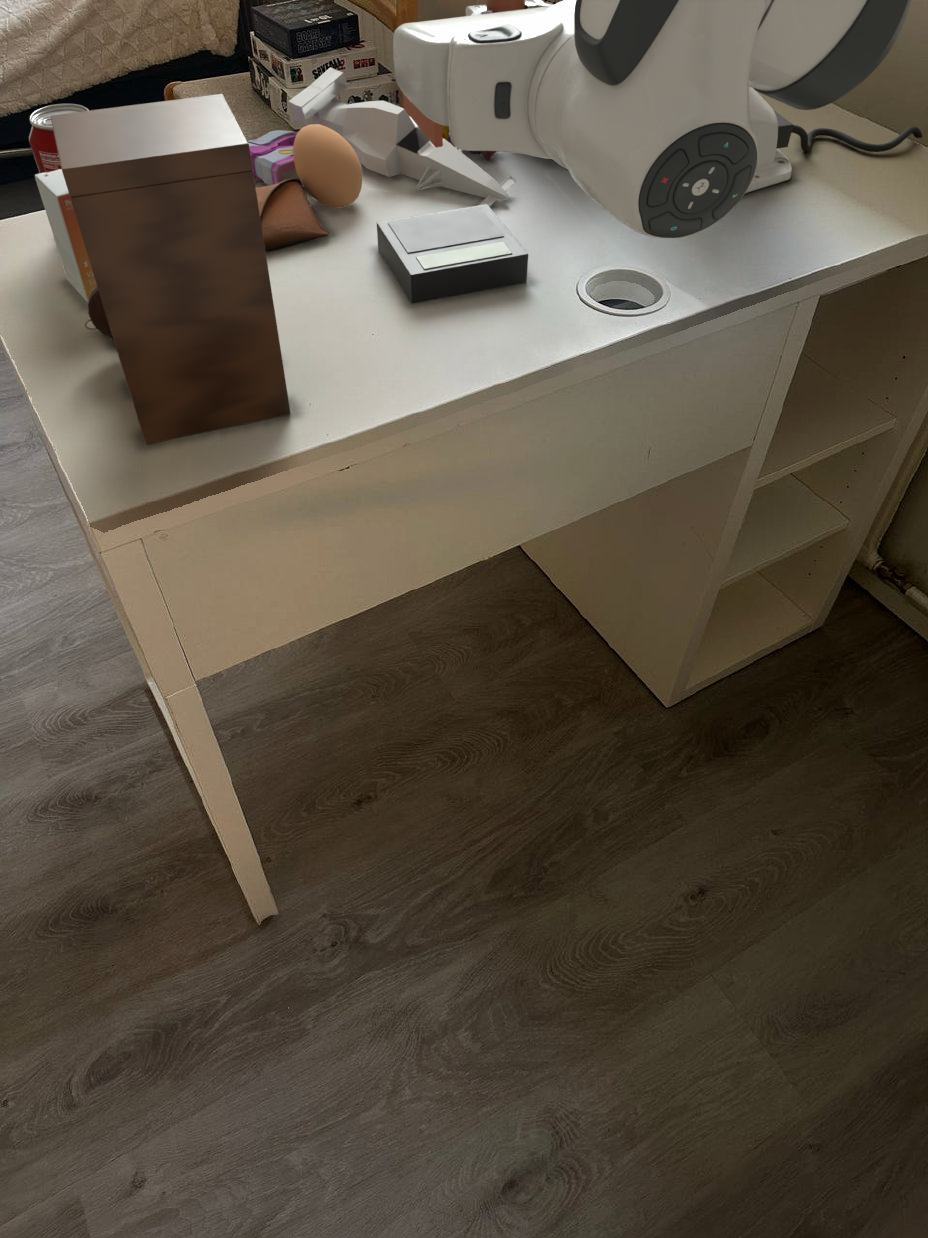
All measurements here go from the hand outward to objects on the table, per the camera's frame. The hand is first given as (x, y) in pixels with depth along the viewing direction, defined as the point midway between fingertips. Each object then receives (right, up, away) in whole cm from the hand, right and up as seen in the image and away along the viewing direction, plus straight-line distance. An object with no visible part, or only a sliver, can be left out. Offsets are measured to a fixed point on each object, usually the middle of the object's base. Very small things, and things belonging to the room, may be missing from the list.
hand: (500, 13), depth 70 cm
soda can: (-41, -5, +29) cm, 51 cm away
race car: (-9, +8, +40) cm, 42 cm away
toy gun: (-20, +10, +40) cm, 46 cm away
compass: (-33, -19, +17) cm, 42 cm away
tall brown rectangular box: (-24, -26, +11) cm, 37 cm away
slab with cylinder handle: (0, -5, +5) cm, 7 cm away
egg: (-15, 0, +32) cm, 35 cm away
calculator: (-4, -9, +26) cm, 27 cm away
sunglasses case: (-26, -6, +29) cm, 39 cm away
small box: (-37, -12, +23) cm, 45 cm away
